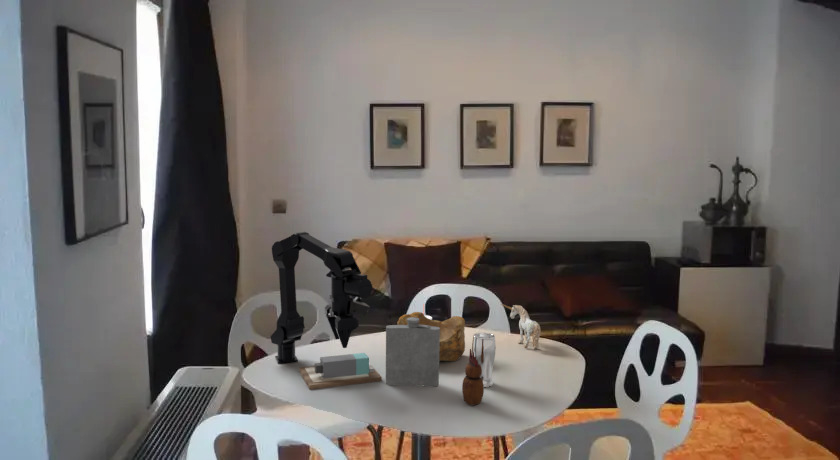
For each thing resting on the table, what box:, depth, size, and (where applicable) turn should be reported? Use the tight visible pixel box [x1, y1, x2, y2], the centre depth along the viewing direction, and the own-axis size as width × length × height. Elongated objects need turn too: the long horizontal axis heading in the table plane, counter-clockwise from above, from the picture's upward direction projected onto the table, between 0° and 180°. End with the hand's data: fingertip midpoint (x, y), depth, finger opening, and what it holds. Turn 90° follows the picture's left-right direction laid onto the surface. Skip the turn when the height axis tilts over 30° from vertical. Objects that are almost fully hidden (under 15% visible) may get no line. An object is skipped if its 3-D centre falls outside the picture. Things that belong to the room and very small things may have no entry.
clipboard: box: [298, 362, 383, 390], centre depth 203 cm, size 16×22×2 cm
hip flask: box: [385, 317, 440, 387], centre depth 197 cm, size 16×4×20 cm, turn 86°
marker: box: [314, 352, 370, 379], centre depth 201 cm, size 5×16×5 cm, turn 110°
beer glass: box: [471, 332, 497, 388], centre depth 198 cm, size 7×7×15 cm
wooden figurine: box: [461, 348, 485, 406], centre depth 183 cm, size 7×6×15 cm
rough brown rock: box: [396, 311, 466, 362], centre depth 218 cm, size 23×17×15 cm
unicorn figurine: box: [500, 303, 541, 350], centre depth 237 cm, size 7×20×13 cm, turn 34°
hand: (341, 343), depth 200 cm, fingers open, 9 cm apart
